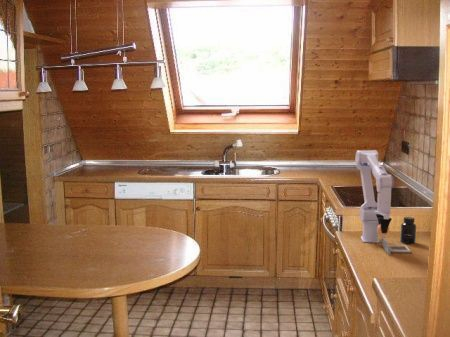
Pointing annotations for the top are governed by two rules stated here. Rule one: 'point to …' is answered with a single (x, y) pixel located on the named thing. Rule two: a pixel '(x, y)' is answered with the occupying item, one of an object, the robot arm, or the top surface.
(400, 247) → the mat
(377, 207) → the robot arm
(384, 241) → the grey wall
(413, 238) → the supplement bottle
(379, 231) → the coral ball
